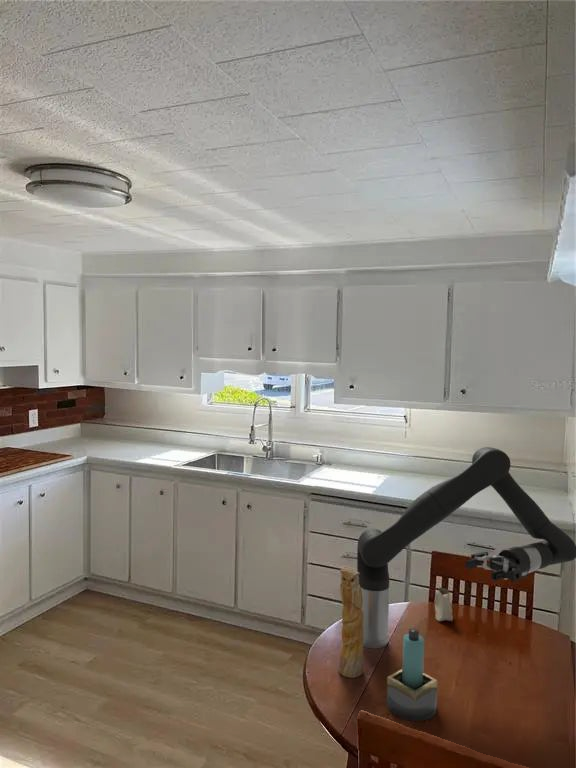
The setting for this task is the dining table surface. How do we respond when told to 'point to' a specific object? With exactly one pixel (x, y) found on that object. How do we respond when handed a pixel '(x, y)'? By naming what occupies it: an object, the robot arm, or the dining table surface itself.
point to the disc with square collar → (411, 698)
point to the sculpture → (351, 625)
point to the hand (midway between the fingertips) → (479, 570)
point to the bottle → (413, 659)
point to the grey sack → (443, 605)
